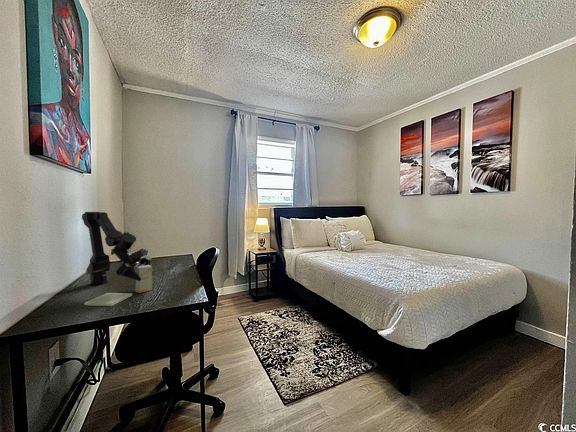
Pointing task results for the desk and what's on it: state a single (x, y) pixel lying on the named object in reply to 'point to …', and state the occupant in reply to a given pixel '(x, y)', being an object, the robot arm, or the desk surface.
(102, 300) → the sage tile
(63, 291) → the desk surface
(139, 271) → the skincare box
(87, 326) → the desk surface
